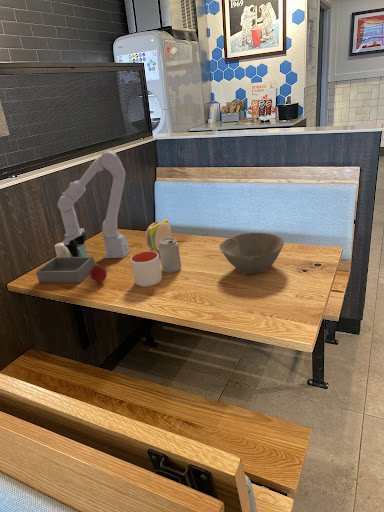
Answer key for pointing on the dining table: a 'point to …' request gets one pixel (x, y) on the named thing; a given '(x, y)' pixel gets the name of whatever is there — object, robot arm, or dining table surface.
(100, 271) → the onion
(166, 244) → the can
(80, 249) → the cube
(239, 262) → the ceramic bowl
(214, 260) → the dining table surface
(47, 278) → the tote
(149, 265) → the cup
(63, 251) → the cylinder
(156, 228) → the hamburger
